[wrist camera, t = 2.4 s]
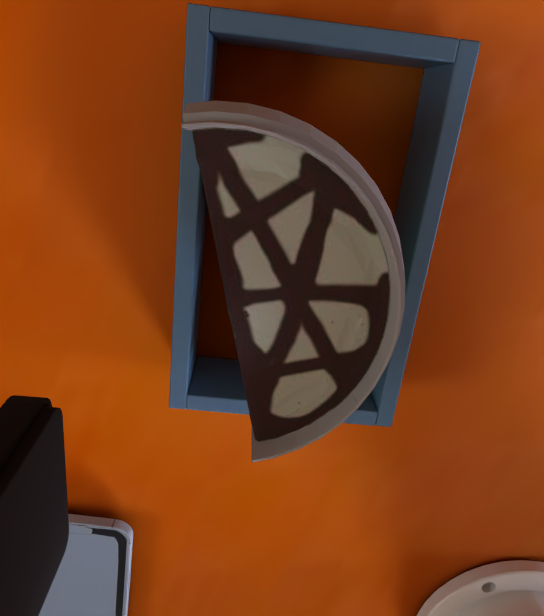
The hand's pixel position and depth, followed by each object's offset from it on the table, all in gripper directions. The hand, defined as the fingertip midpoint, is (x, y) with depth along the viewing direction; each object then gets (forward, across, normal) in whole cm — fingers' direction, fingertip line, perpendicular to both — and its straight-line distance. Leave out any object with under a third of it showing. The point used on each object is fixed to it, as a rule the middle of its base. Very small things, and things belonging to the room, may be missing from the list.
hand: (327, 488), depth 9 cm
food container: (+18, -1, 0) cm, 18 cm away
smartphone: (+17, +11, +26) cm, 33 cm away
